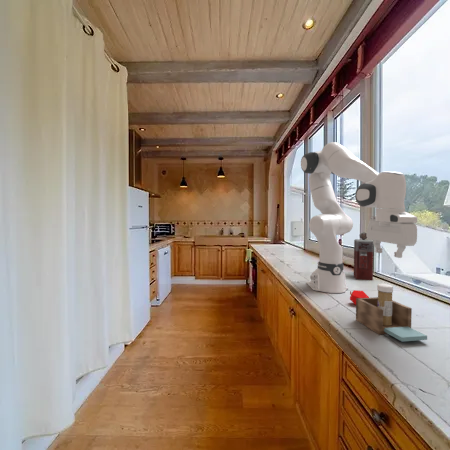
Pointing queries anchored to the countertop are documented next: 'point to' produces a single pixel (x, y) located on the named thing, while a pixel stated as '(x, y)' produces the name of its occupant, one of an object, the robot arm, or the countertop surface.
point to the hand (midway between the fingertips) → (387, 255)
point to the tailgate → (405, 334)
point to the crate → (381, 314)
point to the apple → (357, 295)
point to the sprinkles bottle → (385, 302)
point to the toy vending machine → (363, 258)
